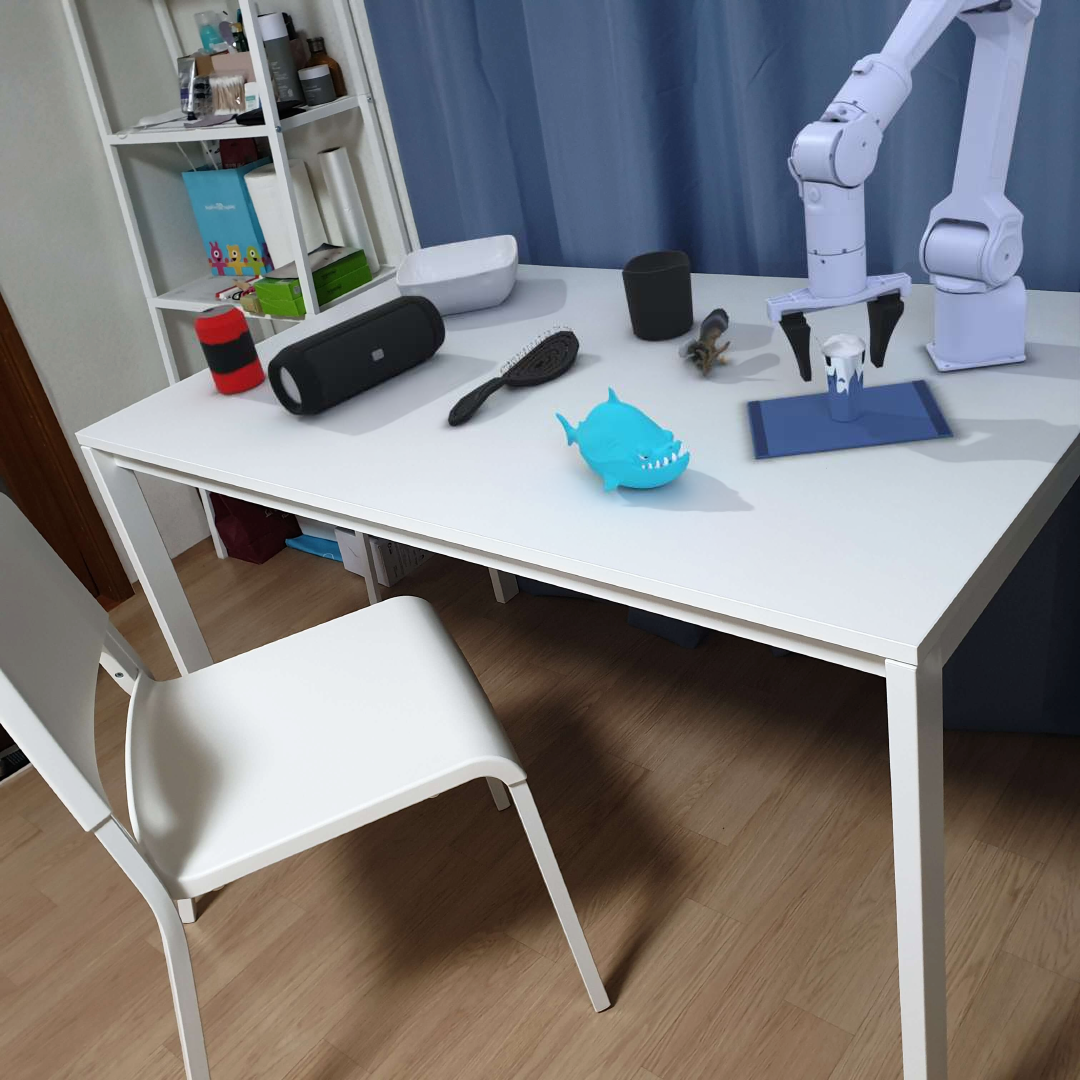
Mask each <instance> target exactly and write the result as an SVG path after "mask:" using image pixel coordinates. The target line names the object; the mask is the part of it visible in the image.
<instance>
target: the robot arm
mask: <svg viewBox="0 0 1080 1080" xmlns="http://www.w3.org/2000/svg"><path fill="white" fill-rule="evenodd" d="M1041 6H1042V0H911V1H910V3H909V4H908V6H907V8H906V9H905V11H904V12H903V14H902V16H901V18H900V19H899V21H898V23H897V24H896V26H895V27H894V29H893V31H892V33H891V34H890V36H889V38H888V39H887V41H886V43H885V44H884V46H883V48H882V50H881V51H880V52H879V53H871V54H868V55H866V56H863V58H862V59H858V60H857V61H856V63H855V64H854V65H853V67H852V68H851V74H850V75H849V77H848V79H847V80H846V81H845V83H844V84H843V85H842V87H841V89H840V90H839V92H838V93H837V95H836V96H835V97H834V98H833V100H832V102H831V103H830V104H829V105H828V106H827V108H826V110H825V112H824V113H823V114H822V116H821V117H820V119H819V120H817V121H812V123H808V124H807V125H806V126H804V127H803V129H802V130H801V131H800V132H798V134H797V135H796V137H795V138H794V141H793V143H792V147H791V153H790V156H789V157H788V158H787V165H788V170H789V172H790V174H791V176H792V178H793V179H794V180H795V181H796V182H797V186H798V195H799V196H798V197H799V198H801V201H802V202H803V206H804V207H803V208H804V220H805V221H804V222H805V238H806V255H807V256H806V257H807V275H808V286H806V287H803V288H801V289H798V290H795V291H792V292H789V293H786V294H783V295H780V296H775V297H772V298H768V299H767V298H766V300H765V304H766V316H767V319H768V320H769V322H770V323H778V324H779V326H780V328H781V329H782V331H783V333H784V335H785V337H786V338H787V340H788V342H789V344H790V346H791V349H792V351H793V353H794V357H795V359H796V363H797V366H798V370H799V376H800V378H801V379H802V380H803V382H805V383H808V382H812V381H813V380H812V379H813V378H812V377H813V374H812V364H811V352H810V348H811V346H810V345H811V330H812V328H811V326H810V325H809V324H808V323H807V317H805V316H804V315H806V314H811V313H817V312H822V311H827V310H832V309H837V308H842V307H847V306H852V305H856V304H857V305H858V304H862V303H866V307H867V309H866V310H867V315H868V324H869V359H870V363H871V364H872V365H873V366H874V367H875V368H876V369H880V368H883V367H884V363H885V358H886V354H887V351H888V346H889V343H890V340H891V337H892V335H893V333H894V331H895V328H896V326H897V324H898V323H899V321H900V319H901V318H902V316H903V314H904V311H905V302H904V301H903V300H902V299H901V298H906V297H911V296H912V277H911V276H910V275H909V274H907V273H906V272H899V273H892V274H882V275H881V274H880V275H869V276H867V247H866V245H867V244H866V216H865V215H866V212H865V180H866V179H867V178H868V177H869V176H870V175H871V174H872V173H873V171H874V168H875V166H876V163H877V159H878V153H879V149H880V145H881V144H882V142H883V140H882V139H883V137H884V134H883V133H884V131H885V130H886V128H887V127H888V125H890V123H891V122H892V120H893V118H894V117H895V116H896V114H897V113H898V111H899V110H900V108H901V107H902V106H903V104H904V102H906V99H908V96H909V95H910V94H911V92H912V90H913V79H912V75H911V72H912V71H913V70H914V68H915V67H916V66H917V65H918V63H919V62H920V61H921V60H922V58H923V57H924V56H925V54H926V53H927V52H928V51H929V50H930V48H931V47H932V46H933V44H934V43H935V42H936V41H937V40H938V38H939V37H940V36H941V35H942V33H943V32H944V31H945V30H946V28H947V27H948V26H949V25H950V24H951V22H952V21H953V20H954V19H955V17H956V18H958V19H959V20H960V21H962V22H964V23H966V24H967V25H968V26H969V28H970V29H971V31H972V33H973V34H974V35H975V44H974V50H973V55H972V63H971V70H970V75H969V82H968V87H967V95H966V100H965V101H966V102H965V106H964V108H965V109H964V113H963V119H962V126H961V133H960V138H959V145H958V151H957V157H956V165H955V171H954V177H953V182H952V190H951V193H950V194H949V195H948V196H946V197H945V198H944V199H942V201H940V202H938V204H936V205H935V206H934V207H933V208H931V210H930V213H929V218H928V219H929V220H928V223H927V227H926V229H925V232H924V234H923V236H922V237H921V241H920V243H919V249H918V260H919V264H920V266H921V267H920V268H921V269H922V270H923V272H924V273H926V274H928V275H929V284H932V285H934V286H935V287H934V289H935V291H934V292H935V293H934V295H935V296H934V300H935V301H934V342H928V343H925V349H926V351H927V352H928V354H929V356H930V358H931V359H932V361H933V363H934V365H935V366H936V368H937V370H938V371H939V372H948V371H957V370H965V369H973V368H980V367H989V366H995V365H996V366H997V365H1004V364H1012V363H1013V364H1014V363H1020V362H1021V363H1022V362H1024V361H1026V360H1027V356H1026V354H1025V350H1026V349H1025V348H1026V330H1027V311H1028V304H1027V301H1028V300H1027V291H1026V287H1025V283H1024V281H1023V279H1022V277H1020V275H1015V274H1016V272H1017V271H1018V269H1019V267H1020V265H1021V263H1022V260H1023V255H1024V243H1023V237H1022V235H1023V233H1022V232H1023V230H1022V229H1023V222H1024V214H1023V213H1022V212H1021V211H1020V210H1019V208H1018V207H1016V206H1015V205H1014V204H1013V203H1012V202H1011V201H1010V200H1009V199H1008V197H1006V195H1005V190H1006V189H1005V187H1006V183H1007V177H1008V171H1009V166H1010V161H1011V156H1012V155H1011V154H1012V148H1013V143H1014V137H1015V134H1016V133H1015V131H1016V127H1017V120H1018V115H1019V109H1020V105H1021V104H1020V103H1021V98H1022V93H1023V86H1024V81H1025V76H1026V75H1025V74H1026V70H1027V64H1028V58H1029V53H1030V48H1031V43H1032V35H1033V31H1034V24H1035V19H1036V18H1037V17H1038V16H1039V14H1040V12H1041ZM964 221H965V222H964ZM966 221H968V222H966ZM972 222H975V223H972ZM976 222H978V223H976ZM980 223H981V224H980Z"/></svg>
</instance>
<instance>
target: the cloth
mask: <svg viewBox="0 0 1080 1080" xmlns="http://www.w3.org/2000/svg"><path fill="white" fill-rule="evenodd" d="M746 404H747V405H746V406H747V411H748V416H749V417H748V418H749V426H750V431H751V438H752V444H753V451H754V456H755V457H754V458H755V460H757V459H758V460H759V459H766V458H776V457H785V456H793V455H801V454H802V455H803V454H810V453H819V452H827V451H835V450H845V449H853V448H854V449H855V448H862V447H863V448H864V447H871V446H880V445H887V444H895V443H905V442H914V441H922V440H930V439H940V438H948V437H950V438H951V437H954V433H953V431H952V429H951V427H950V425H949V423H948V421H947V420H946V417H945V415H944V414H943V412H942V410H941V407H940V406H939V404H938V402H937V400H936V399H935V397H934V395H933V393H932V391H931V389H930V387H929V385H928V383H927V382H926V380H925V379H921V380H912V381H909V382H900V383H892V384H885V385H876V386H868V387H863V397H862V415H861V416H860V417H859V418H858V419H857V420H854V421H850V422H838V421H835V420H833V419H832V417H831V414H830V406H829V398H828V392H821V393H813V394H805V395H797V396H789V397H781V398H772V399H766V400H765V399H764V400H751V401H748V402H747V403H746Z"/></svg>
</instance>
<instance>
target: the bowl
mask: <svg viewBox="0 0 1080 1080" xmlns="http://www.w3.org/2000/svg"><path fill="white" fill-rule="evenodd" d="M518 268H519V251H518V242H517V240H516V238H515V236H514V235H512V234H503V235H494V236H488V237H482V238H475V239H470V240H463V241H457V242H452V243H445V244H440V245H435V246H429V247H425V248H421V249H417V250H413V251H412V252H410V253H408V254H407V255H406V256H405V257H404V258H403V260H402V261H401V262H400V264H399V267H398V268H397V271H396V275H395V284H396V286H397V289H398V291H399V294H400V296H423V297H425V298H427V299H429V300H430V301H431V302H432V303H433V304H434V305H435V307H436V308H437V309H438V311H439V313H440V315H441V317H442V316H449V315H455V314H460V313H461V314H462V313H466V312H467V313H468V312H472V311H477V310H483V309H489V308H493V307H498V306H500V305H501V304H502V303H503V301H504V300H505V299H507V297H508V296H509V295H510V293H511V291H512V290H513V288H514V284H515V281H516V279H517V274H518Z"/></svg>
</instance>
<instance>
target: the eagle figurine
mask: <svg viewBox="0 0 1080 1080" xmlns="http://www.w3.org/2000/svg"><path fill="white" fill-rule="evenodd" d="M729 318H730V316H729V315H728V313H727V311H726V310H725V309H724V308H715V309H713V310H712V311H711V312H710V313H709V314H708V315H707V316H706V317H705V318H704V319H703V320H702V322H701V323H700V330H699V337H698V340H696V339H695V338H694V337H691V338H689V339H687V340H686V341H684V343H682V344H681V345H680V346H679V348H678V352H677V353H678V356H679V358H681V359H682V358H687V356H689V355H694V356H696V357H697V359H698V360H695V361H694V364H696V365H699V364H701V365H702V367H703V371H702V372H703V374H702V375H703V377H707V374H708V373H709V371H711V368H712V365H713V363H714V361H715V360H716V361H718V362H722V363H724V364H727V361H726V359H725V356H724V355H723V354H722V353H723V352H725V351H726V350H727V349H729V346H730V344H731V340H727V341H726V342H725V344H724V345H722V346H721V347H720V348H718V349H717V346H716V341H717V340H718V339H720V338H721V337H722V335H723V334H724V333H725V332H727V330H728V329H729V323H730V321H729V320H730V319H729Z"/></svg>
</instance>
